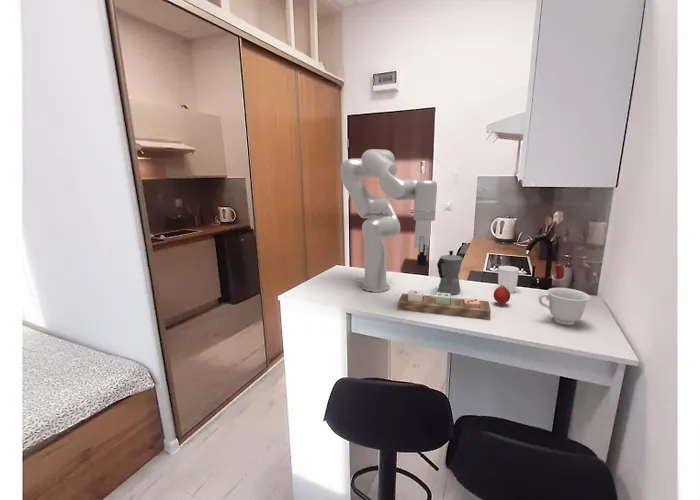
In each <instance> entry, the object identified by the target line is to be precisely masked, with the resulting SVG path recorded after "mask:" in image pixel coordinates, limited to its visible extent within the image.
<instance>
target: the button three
mask: <svg viewBox="0 0 700 500" xmlns="http://www.w3.org/2000/svg"><path fill="white" fill-rule="evenodd" d="M463 299H464V307H473V308H479V307H480V303H479V300H480V299H477V298H466V297H465V298H463Z"/></svg>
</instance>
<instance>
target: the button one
mask: <svg viewBox="0 0 700 500" xmlns="http://www.w3.org/2000/svg"><path fill="white" fill-rule="evenodd" d="M407 294H408V301H413V302H422V301H423V295H424V290H416V289H409V292H408V293H407Z"/></svg>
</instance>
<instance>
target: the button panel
mask: <svg viewBox="0 0 700 500" xmlns="http://www.w3.org/2000/svg"><path fill="white" fill-rule="evenodd" d="M408 294H409V293H401V295H400V296H399V299H398V301H397V311H406V312H408V311H409V312H415V313H423V314H424V313H426V314H434V315H443V316H451V317H453V316H454V317H462V318H471V319H481V320H489V321H490V320H491V315H492V314H491V313H492V311H491V306H490V302H489V300H480V299H479V303H480V307H479V308H473V307H464V299H465V298H456V297H450V305H443V304H436V295H435V296H434V295H424V294H423V301H422V302H413V301H408Z"/></svg>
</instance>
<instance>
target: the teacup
mask: <svg viewBox="0 0 700 500" xmlns="http://www.w3.org/2000/svg"><path fill="white" fill-rule="evenodd" d="M543 298H546V301H548V304H549V305H548V304H545V303H544V302H543ZM537 299H538V303H539V304H540V305H541V306H542V307H545V308H547V309H548V311H549V313H550V314H551V316H552V317H554V319H553V320H554V322H556V323H557V324H560V325H563V326H572V325H575V324H576V323H575V322H576V321H579V320H580V319H581V318H582V316H583V314H584V312H585V308H586V305H587V303H588V301H589V300H591V295H589V294H588V293H586V292H584V291H581V290H577V289H574V288H568V287H551V288H549V289H547V290H546V292H543V293H542V292H541V293H540V294H539V295H538V298H537Z"/></svg>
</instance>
